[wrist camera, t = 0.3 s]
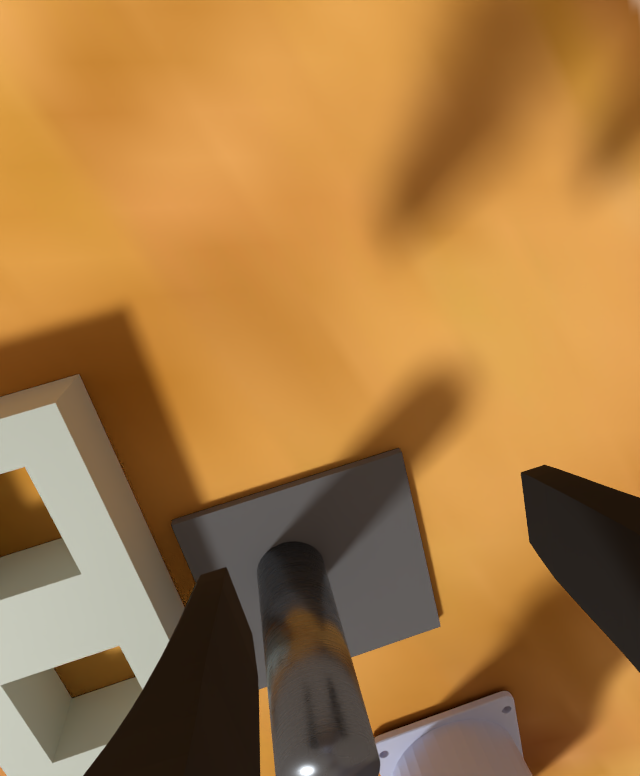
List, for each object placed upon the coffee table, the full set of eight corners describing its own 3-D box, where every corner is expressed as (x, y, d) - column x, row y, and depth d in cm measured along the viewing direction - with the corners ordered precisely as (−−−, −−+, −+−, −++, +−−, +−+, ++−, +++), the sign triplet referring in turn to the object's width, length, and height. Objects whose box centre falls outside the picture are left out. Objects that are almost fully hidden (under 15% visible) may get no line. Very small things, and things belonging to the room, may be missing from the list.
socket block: (217, 679, 25) (216, 739, 22) (50, 736, 25) (28, 805, 22) (79, 374, 19) (55, 402, 17) (-144, 438, 19) (-207, 480, 16)
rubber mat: (437, 620, 26) (440, 626, 26) (243, 687, 26) (244, 694, 25) (398, 448, 23) (401, 452, 22) (172, 520, 22) (171, 525, 22)
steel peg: (331, 585, 24) (389, 789, 16) (267, 606, 24) (292, 825, 16) (314, 532, 23) (367, 721, 15) (248, 554, 23) (263, 759, 14)
